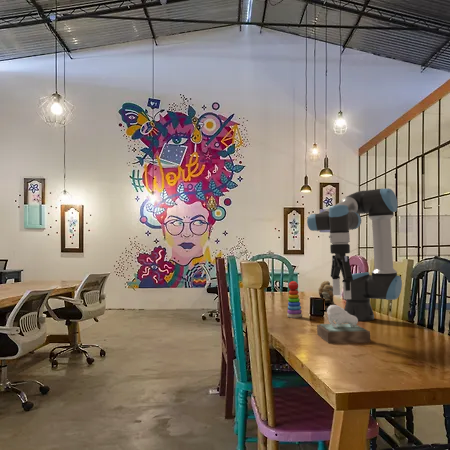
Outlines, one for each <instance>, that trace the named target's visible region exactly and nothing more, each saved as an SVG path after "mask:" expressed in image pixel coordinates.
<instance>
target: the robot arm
mask: <svg viewBox="0 0 450 450" xmlns="http://www.w3.org/2000/svg"><path fill="white" fill-rule="evenodd" d="M397 211H398V199H397V196H396V193H395V192H394V191H393V190H392V188H377V189H375V188H374V189H366V190H359V191H356V192H353V193H351V194H349V195H347V196H345V197H343V198H342V199H341V200H340V202H338V203H336V204H335V205H330V206H329V208H327V209H325V210H323V211H322V212H319V213H311V214H309V215H308V216H307V220H306V221H307V222H306V225H307V228H308V229H309V230H310V231H313V232H315V231H316V232H319V231H320V232H321V231H329V236H328V238H329V240H330V241H329V242H330V247H329V248H330V254H332V256H331V260H332V262H331V270H330V277H331V278H332V286H333V295H334V296H340V295H341V284H340V283H341V280H340V279H341V276H340V274H341V275H342V285H343V286H342V288H343V289H342V290H343V300H345V305H344V308H343V309H344V310H345V311H347V312H348V313H349V314H350V315H354V316H356V317H357V319H358V322H359V321H363V322H364V321H365V322H367V321H373V320H375V312H374V310H373V308H372V305H371V299H374V300H386V301H389V300H390V301H391V300H392V301H393V300H394V301H395V300H397V299H398V298H399V297H400V294H402V293H401V292H402V288H403V286H402V285H403V282H402V281H403V280H402V277H401V276H400V275H398V272H397V270H396V269H395V268H394V260H393V259H394V257H393V256H394V255H393V238H392V224H391V223H392V221H391V219H392V218H393V217H394V214H395V212H397ZM361 214H363V215H364V214H365V215H366V214H368V218H369V219H370V220H371V224H372V225H371V227H372V242H373V243H372V244H373V245H372V246H373V264H374V269H372V271H371V273H370V272H368V271H367V272H365V271H364V272H358V273H357V272H356V273H353V272H352V268H351V267H352V266H351V264H350V256H349V255H346V254H350V253H351V246H350V245H351V244H349V243H350V242H351V241H350V230H352V231H353V230H356V229H358V228H360V226H361V223H362V217H361Z"/></svg>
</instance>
